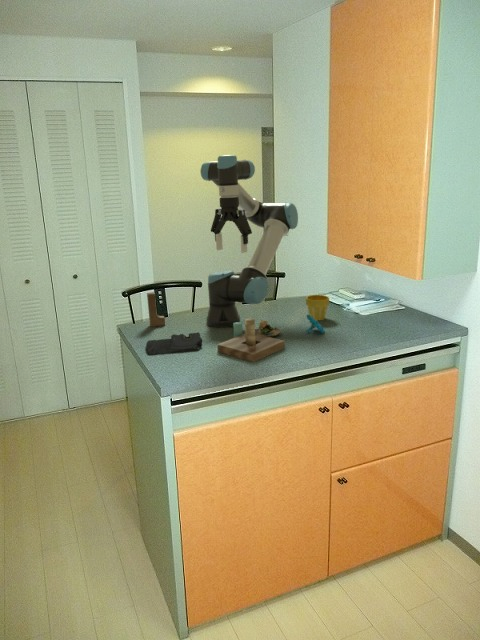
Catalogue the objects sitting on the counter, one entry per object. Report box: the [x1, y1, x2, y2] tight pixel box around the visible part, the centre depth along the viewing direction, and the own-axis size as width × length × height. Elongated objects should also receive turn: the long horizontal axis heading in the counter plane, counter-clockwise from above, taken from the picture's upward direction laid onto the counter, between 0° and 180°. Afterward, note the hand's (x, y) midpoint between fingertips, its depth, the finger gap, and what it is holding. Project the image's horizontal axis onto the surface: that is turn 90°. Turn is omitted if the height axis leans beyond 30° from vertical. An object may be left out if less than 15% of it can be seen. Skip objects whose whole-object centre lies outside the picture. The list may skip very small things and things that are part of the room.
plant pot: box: [305, 294, 330, 321], centre depth 230 cm, size 10×10×10 cm
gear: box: [306, 314, 326, 334], centre depth 212 cm, size 11×6×10 cm
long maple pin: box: [244, 318, 256, 346], centre depth 193 cm, size 4×4×12 cm
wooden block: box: [146, 291, 166, 328], centre depth 230 cm, size 7×3×15 cm, turn 106°
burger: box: [255, 320, 282, 338], centre depth 211 cm, size 12×12×8 cm
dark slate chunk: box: [145, 332, 203, 356], centre depth 202 cm, size 15×22×5 cm
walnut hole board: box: [216, 333, 286, 363], centre depth 195 cm, size 18×18×3 cm
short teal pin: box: [232, 321, 244, 338], centre depth 206 cm, size 4×4×7 cm
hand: (231, 251), depth 206 cm, fingers open, 13 cm apart
